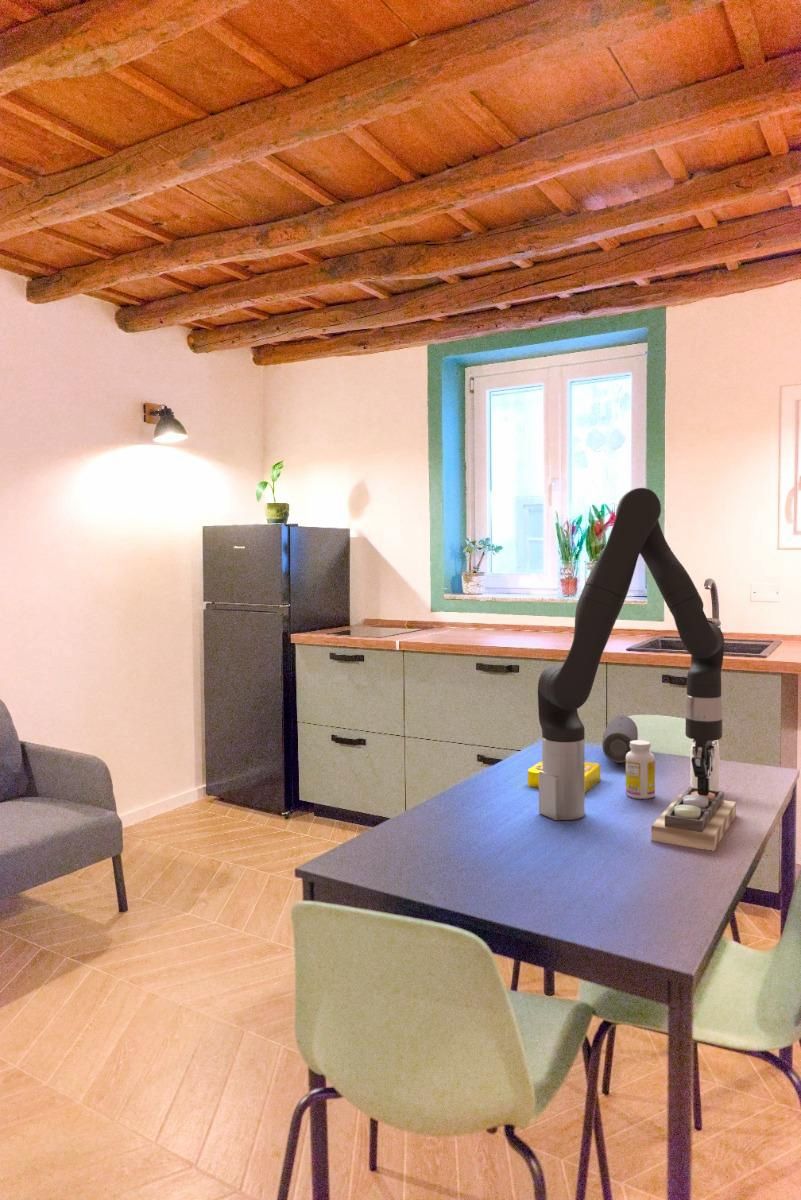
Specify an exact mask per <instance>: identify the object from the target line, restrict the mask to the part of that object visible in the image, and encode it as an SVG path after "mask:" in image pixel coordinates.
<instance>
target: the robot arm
mask: <svg viewBox="0 0 801 1200" xmlns="http://www.w3.org/2000/svg"><path fill="white" fill-rule="evenodd" d="M661 512H662V504H661V501H660V499H659V497H658V495H657V494H656V493H655V492H654V491H653V490H652V489H650V488H647V487H635V488H633V489H630V490H629V491H627V492H625V493H624V495H622V497H621V498H620V499H619V502H618V504H617V506H616V511H615V518H614V522H613V524H612V528H611V531H610V534H609V537H608V539H607V541H606V544H605V546H604V548H603V550H602V551H601V553H600V554H599V556H598V558H597V560H596V562H595V564H594V565H593V567H592V569H591V571H590V573H589V575H588V577H587V579H586V581H585V584H584V586H583V588H582V591H581V593H580V596H579V598H578V600H577V604H576V607H575V608H576V609H575V614H574V633H573V640H572V644H571V646H570V649H569V651H568V654H567V655H566V658H565V660H564V662H563V664H561V663H553V664H550V665H549V666H547V667H545V668H544V669H543V670H542V672H541V673H540V676H539V678H538V682H537V708H538V709H537V711H538V721H539V725H540V727H541V737H542V738H541V740H542V741H541V745H542V747H541V748H542V749H541V753H542V754H541V755H542V756H541V759H542V760H541V761H542V771H539V788H538V813H539V814H541V815H543V816H544V817H548V818H549V819H551V820H555V821H560V820H563V821H570V820H571V821H572V820H578V819H581V818H583V817H584V816H585V813H586V812H585V811H586V810H585V807H586V806H585V803H586V801H585V799H586V798H585V797H586V796H585V795H586V794H585V793H586V792H585V762H586V760H585V759H586V758H585V754H586V753H585V751H586V750H585V747H586V746H585V742H586V741H585V740H586V739H585V735H586V734H585V726H584V723H582V721H581V718H580V716H579V713H578V709H579V708H581V707H582V706H583V705H584V704H585V703H586V702H587V701H588V699H589V697H590V694H591V691H592V690H593V689H592V688H593V687H594V686H593V685H594V682H595V679H596V675H597V673H598V670H599V669H598V668H599V665H600V662H601V658H602V655H603V653H604V650H605V648H606V646H607V644H608V642H609V639H610V637H611V636H610V635H611V633H612V631H613V629H614V626H615V624H616V621H617V620H618V617H619V616H620V613H621V610H622V609H623V606H624V603H625V601H626V598H627V597H628V596H627V595H628V593H629V590H630V586H631V583H632V581H633V578H634V574H635V571H636V570H635V569H636V567H637V563H638V561H639V560H638V559H639V557H640V556H641V557H642V559H643V561H644V562H645V564H646V566H647V568H648V569H649V572H650V574H651V576H652V578H653V580H654V582H655V584H656V586H657V588H658V591H659V592H660V595H661V596H662V598H663V600H664V602H665V604H666V607H667V608H668V610H669V612H670V613H671V615H672V617H673V620H674V623H675V626H676V629H677V630H676V631H677V632H678V635H679V636H678V637H679V638H680V640H681V643H682V645H683V647H684V648H685V650H686V651H687V652H688V653H689V654H690V655H691V656H690V667H689V668H688V669H689V670H688V671H687V676H686V700H685V736H686V737H687V738H688V739H691V740H695V742H696V743H695V746H693V755H694V757H692V759H691V758H690V762H691V761H692V765H693V770H694V775H695V777H697V778H698V794H699V795H705V796H707V795H708V794H709V777H710V776H711V772H712V771H713V761H714V754H715V746H712V741H719V740H721V739H722V738H723V701H722V669H723V662H724V655H725V637H724V634H723V633H724V632H723V631H722V629H721V628H720V627H719V626H717V625H716V624H713V623H710V621H709V620H708V618H707V615H706V613H705V611H704V602H703V598H702V597H701V595H700V593H699V591H698V589H697V587H696V586H695V583H694V582H693V580H692V578H691V577H690V574H689V573H688V571H687V570H686V569H685V567H684V566H683V564H682V563H681V562H680V561H679V559H678V558H677V556H676V555H675V554H674V552H673V551H672V549H671V547H670V546H669V544H668V542H667V540H666V537H665V536H664V533H663V531H662V527H661V524H660V521H659V518H660V517H661V514H662V513H661Z"/></svg>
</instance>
